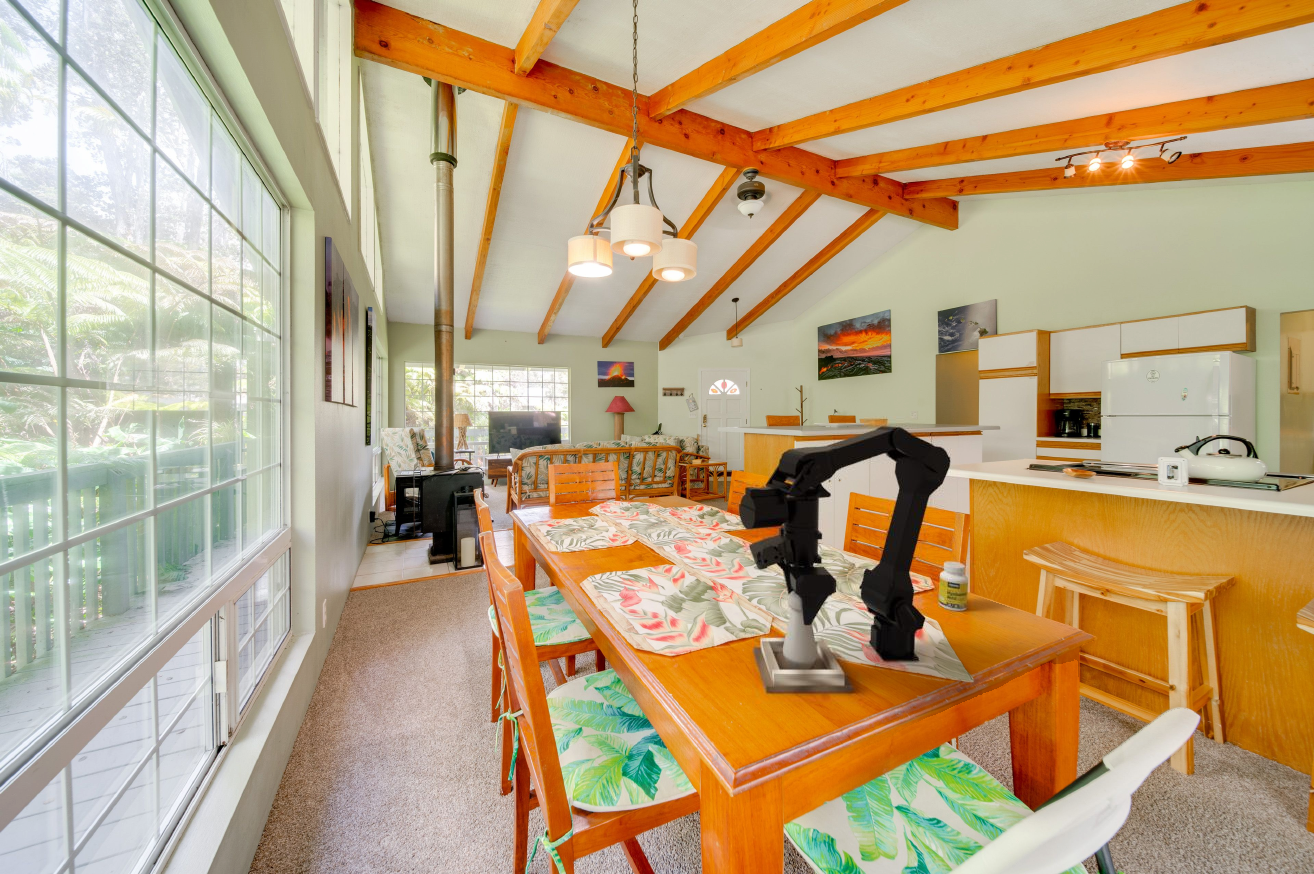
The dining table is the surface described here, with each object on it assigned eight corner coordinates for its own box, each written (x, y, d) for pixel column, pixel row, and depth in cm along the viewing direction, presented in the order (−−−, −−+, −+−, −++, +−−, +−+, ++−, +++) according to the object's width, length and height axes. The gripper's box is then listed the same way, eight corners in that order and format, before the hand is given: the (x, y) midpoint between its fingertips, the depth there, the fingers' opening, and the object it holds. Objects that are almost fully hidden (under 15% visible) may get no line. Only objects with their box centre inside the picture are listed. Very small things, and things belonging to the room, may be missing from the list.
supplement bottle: (944, 611, 104) (946, 568, 103) (934, 600, 109) (936, 559, 108) (971, 612, 103) (973, 569, 102) (959, 601, 108) (961, 560, 108)
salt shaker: (818, 677, 79) (819, 602, 78) (783, 673, 80) (784, 599, 79) (815, 657, 85) (816, 588, 84) (782, 654, 86) (782, 585, 85)
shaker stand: (828, 652, 88) (828, 636, 88) (853, 692, 76) (853, 674, 76) (753, 652, 89) (753, 636, 88) (766, 692, 77) (766, 674, 77)
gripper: (744, 510, 90) (744, 589, 91) (764, 540, 71) (763, 639, 73) (803, 510, 89) (802, 589, 91) (838, 540, 71) (836, 639, 72)
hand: (799, 611), depth 82 cm, fingers open, 9 cm apart
